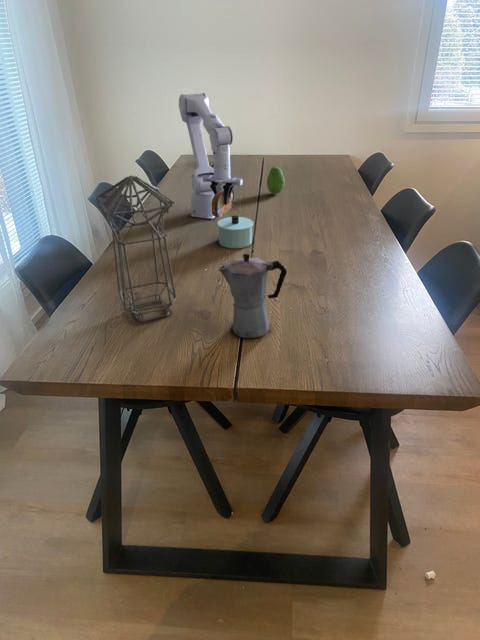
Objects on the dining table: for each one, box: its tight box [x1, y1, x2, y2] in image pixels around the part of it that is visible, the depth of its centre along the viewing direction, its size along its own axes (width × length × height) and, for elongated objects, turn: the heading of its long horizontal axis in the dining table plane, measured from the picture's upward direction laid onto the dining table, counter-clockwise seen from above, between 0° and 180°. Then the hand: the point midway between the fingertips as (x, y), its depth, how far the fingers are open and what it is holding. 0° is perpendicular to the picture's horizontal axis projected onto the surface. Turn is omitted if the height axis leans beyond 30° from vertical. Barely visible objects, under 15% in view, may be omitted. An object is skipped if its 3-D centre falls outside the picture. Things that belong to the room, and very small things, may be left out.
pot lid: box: [217, 215, 254, 231], centre depth 154 cm, size 12×12×3 cm
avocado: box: [266, 165, 286, 195], centre depth 200 cm, size 8×8×12 cm
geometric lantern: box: [95, 175, 177, 323], centre depth 110 cm, size 16×16×35 cm
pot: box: [218, 226, 253, 249], centre depth 156 cm, size 11×11×6 cm
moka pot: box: [218, 253, 287, 339], centre depth 106 cm, size 10×15×20 cm, turn 95°
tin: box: [212, 187, 235, 219], centre depth 164 cm, size 15×3×8 cm, turn 158°
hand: (222, 203), depth 164 cm, fingers closed on tin, 2 cm apart
